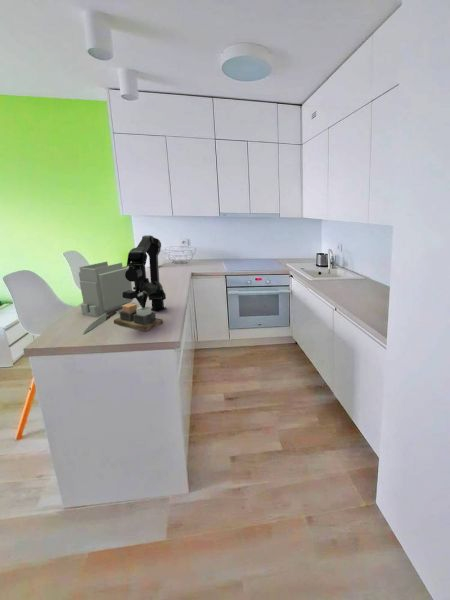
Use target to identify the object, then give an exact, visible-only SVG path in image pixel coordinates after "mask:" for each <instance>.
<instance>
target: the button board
mask: <svg viewBox="0 0 450 600" xmlns="http://www.w3.org/2000/svg"><path fill="white" fill-rule="evenodd" d="M151 312H152V311H151ZM113 323H114V324H115V325H119V326H123V327H125V328H130V329H134V330H137V331H141V332H145V333H146V332H148V331H150V330H152V329H154V328H156V327H159V326H161V325H162V324H163V323H164V321H163V318H162V319H161V318H157V317H156V312H155V311H153V312H152V314H149V315H147V316H145V317H143V316H139V315H137V312H136V311H134V312H132V313H126V312H123V310H120V311H119V317H117V318H115V319H113Z"/></svg>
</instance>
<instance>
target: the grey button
mask: <svg viewBox="0 0 450 600" xmlns="http://www.w3.org/2000/svg"><path fill="white" fill-rule="evenodd" d="M151 309H152V306H151V307H150V306H146V305H145V308H142V307H141V306H140V307H137V309H136V312H137V315H139V316H143V317H145V316H147V315H149V314H152V310H151Z"/></svg>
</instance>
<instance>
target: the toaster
mask: <svg viewBox="0 0 450 600" xmlns="http://www.w3.org/2000/svg"><path fill="white" fill-rule="evenodd" d="M128 269H129V266H127V265H125V266H123V262H118V263H113V264H110V265H109V264H108V261H103V262H98V263H94V264H89V265H84V266H79V272H78V278H79V285H80V290H81V292H80V293H81V297H82V302H83V303H82V304H80V308H81V315H84V316H89V317H94V318H96V317H100V316H101V315H103V314H105V313H106V314H110V313H112V312H114V311H117V310H118V309H121V308H122V306H123V305H126V304H129V303H132V302H133V301H134V299H127V298H123V295H122V293H123V292H125V291H128V290H132V291H133V287H132V286H133V285H132V282H130V281H128V280H127V279H126V277H125V273H126V271H127V270H128Z"/></svg>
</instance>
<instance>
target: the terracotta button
mask: <svg viewBox="0 0 450 600" xmlns="http://www.w3.org/2000/svg"><path fill="white" fill-rule="evenodd" d="M121 308H122V311H123V312H126V313H132V312H134V311H136V309H137V308H138V305H137V303H136V304H135V303H132V302H130V303H127V304H124V305H122V307H121Z"/></svg>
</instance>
